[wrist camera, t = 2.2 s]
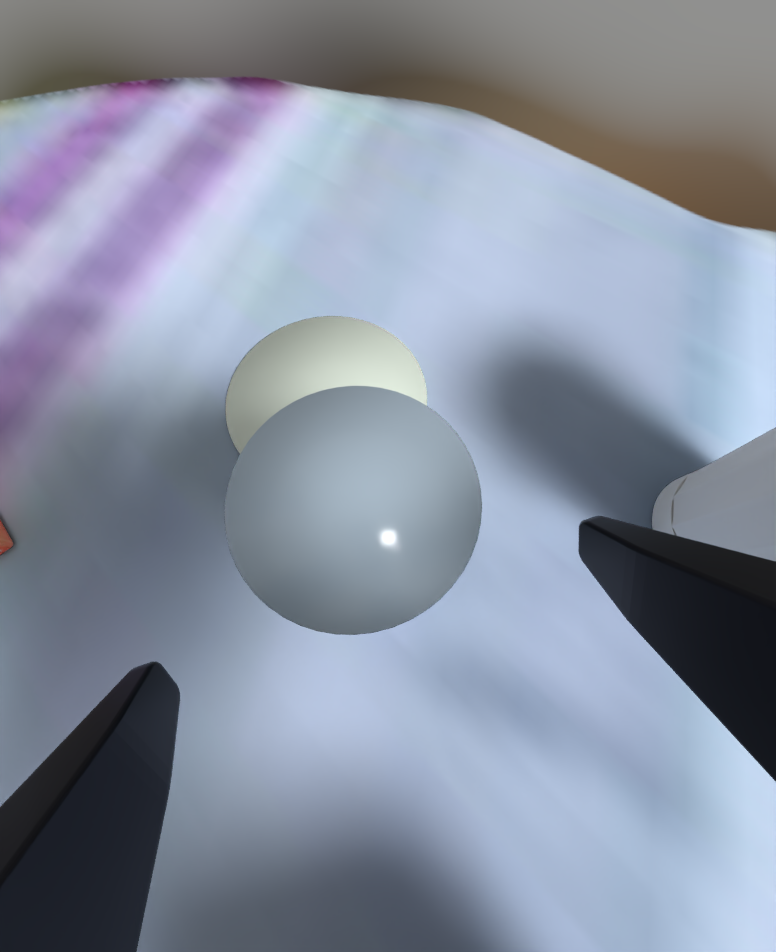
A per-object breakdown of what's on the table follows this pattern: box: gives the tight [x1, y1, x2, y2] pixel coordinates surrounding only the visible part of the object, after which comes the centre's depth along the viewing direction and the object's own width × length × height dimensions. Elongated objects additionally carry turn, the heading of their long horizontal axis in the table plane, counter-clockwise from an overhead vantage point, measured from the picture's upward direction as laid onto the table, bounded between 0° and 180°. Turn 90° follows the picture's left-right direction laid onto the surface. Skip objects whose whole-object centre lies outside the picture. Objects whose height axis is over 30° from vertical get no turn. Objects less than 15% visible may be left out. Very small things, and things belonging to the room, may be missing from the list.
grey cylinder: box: [224, 386, 482, 635], centre depth 13 cm, size 6×6×10 cm
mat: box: [225, 316, 427, 454], centre depth 20 cm, size 11×11×1 cm
